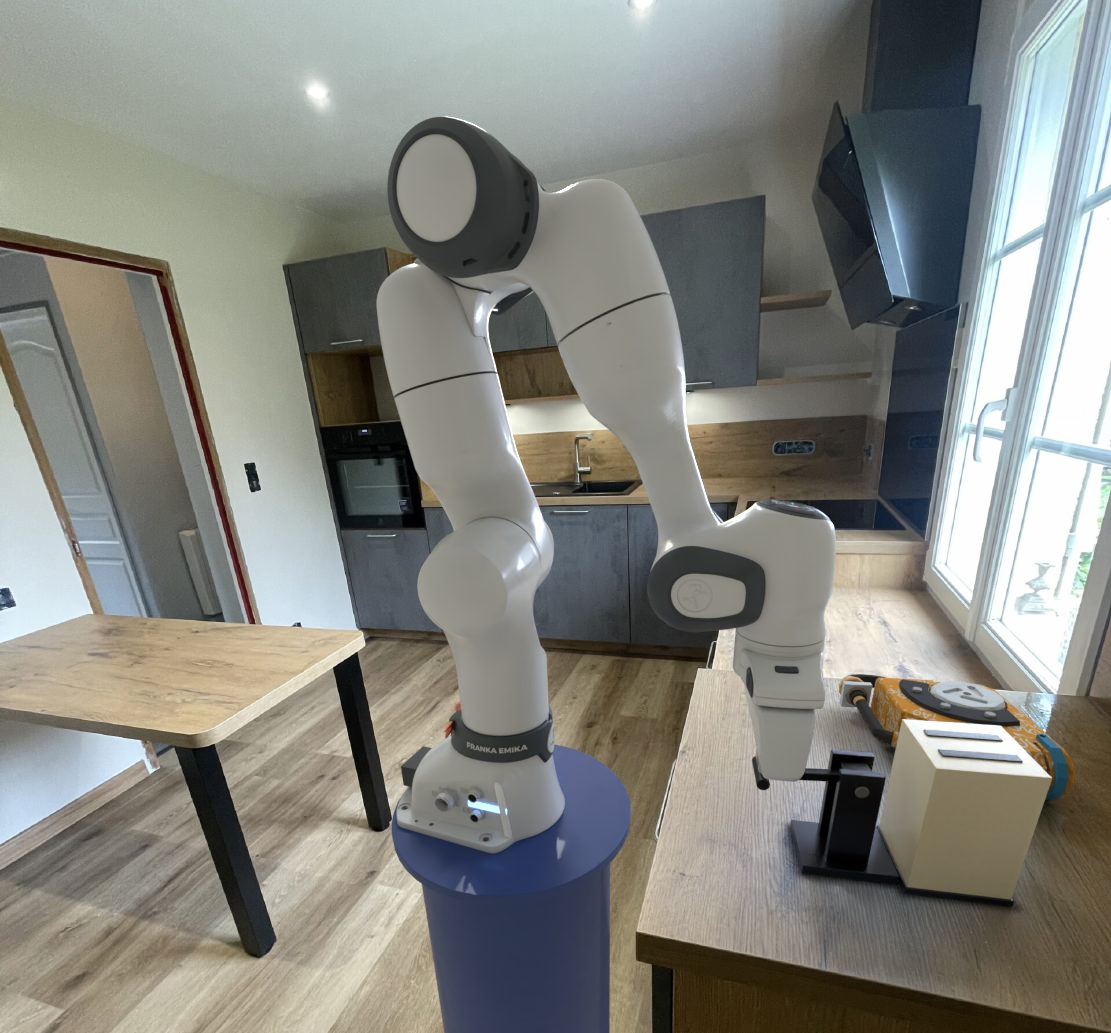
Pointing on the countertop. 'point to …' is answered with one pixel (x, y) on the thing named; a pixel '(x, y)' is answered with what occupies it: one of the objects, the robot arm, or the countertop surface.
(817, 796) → the countertop surface
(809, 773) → the lever
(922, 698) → the device
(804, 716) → the robot arm
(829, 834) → the lever bracket
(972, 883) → the toaster
